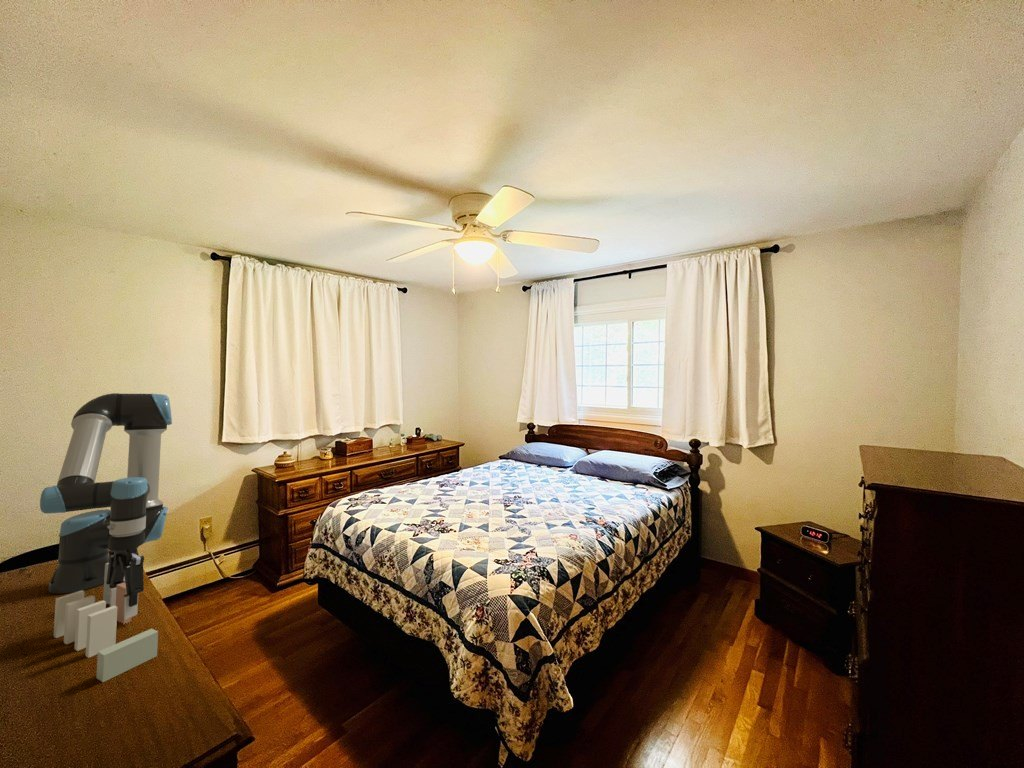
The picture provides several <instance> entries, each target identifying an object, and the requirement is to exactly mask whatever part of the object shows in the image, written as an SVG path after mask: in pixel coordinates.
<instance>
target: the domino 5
mask: <svg viewBox="0 0 1024 768" xmlns="http://www.w3.org/2000/svg"><path fill="white" fill-rule="evenodd" d="M126 594H127V591H126V583H121V584H118V585H117V588H116V607H117V622H118V621H119V622H118V623H120V622H121V623H120V624H122V623H123V624H122V625H126V624H128V622H129V623H131V622H132V617H130V618H128V619H124V601H125V597H124V595H126ZM130 621H131V622H130ZM125 623H126V624H125Z"/></svg>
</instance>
